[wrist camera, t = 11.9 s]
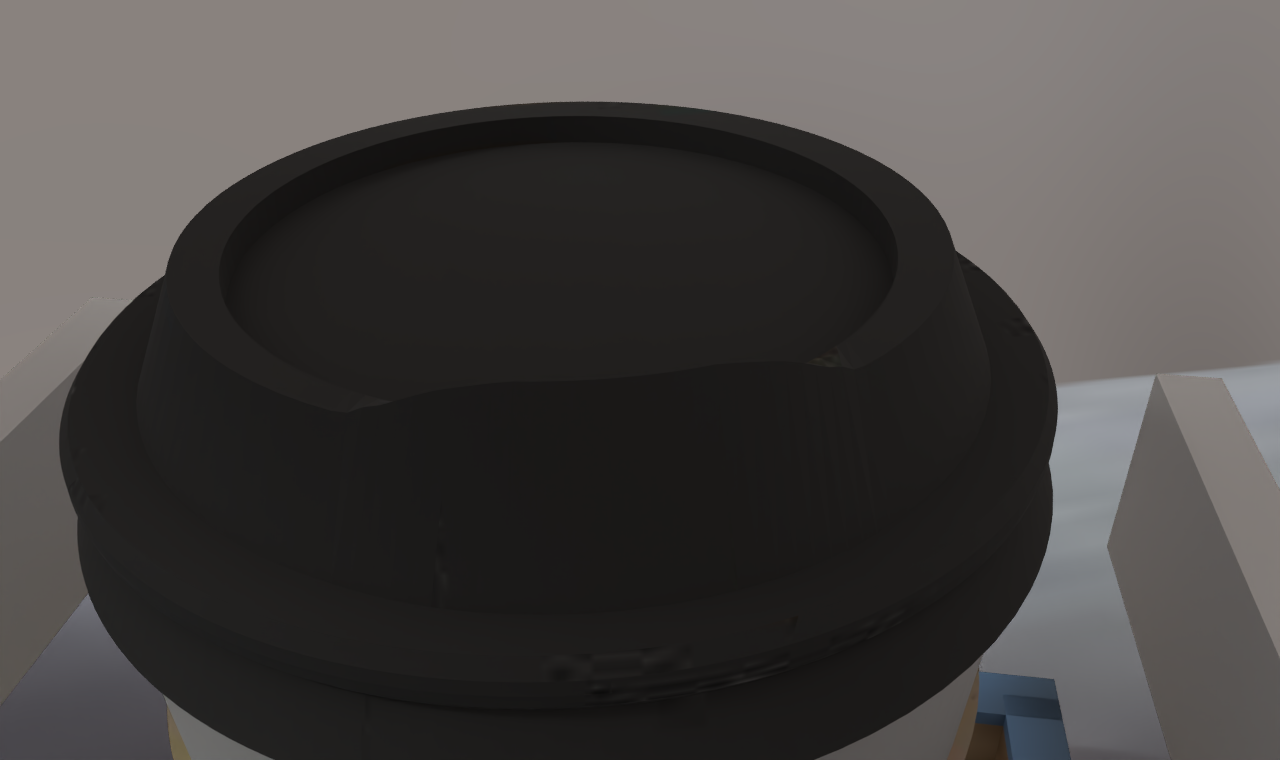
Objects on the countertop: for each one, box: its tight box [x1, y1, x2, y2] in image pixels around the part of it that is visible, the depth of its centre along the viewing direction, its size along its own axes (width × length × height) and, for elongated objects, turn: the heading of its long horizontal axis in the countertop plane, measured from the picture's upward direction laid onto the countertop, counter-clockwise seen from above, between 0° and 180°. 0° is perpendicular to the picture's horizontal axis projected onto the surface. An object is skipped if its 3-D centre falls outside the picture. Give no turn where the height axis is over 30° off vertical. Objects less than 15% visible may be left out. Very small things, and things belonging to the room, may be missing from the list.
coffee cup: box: [59, 102, 1058, 760], centre depth 14 cm, size 9×9×15 cm
